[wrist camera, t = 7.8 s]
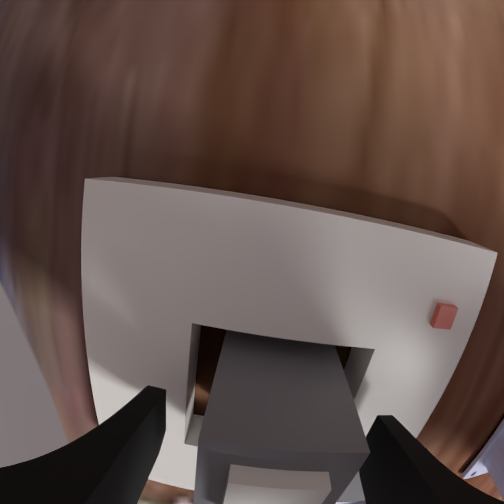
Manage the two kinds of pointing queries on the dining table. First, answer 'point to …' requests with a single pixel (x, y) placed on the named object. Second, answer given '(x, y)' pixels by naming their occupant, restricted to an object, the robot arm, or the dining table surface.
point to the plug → (278, 425)
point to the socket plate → (267, 299)
